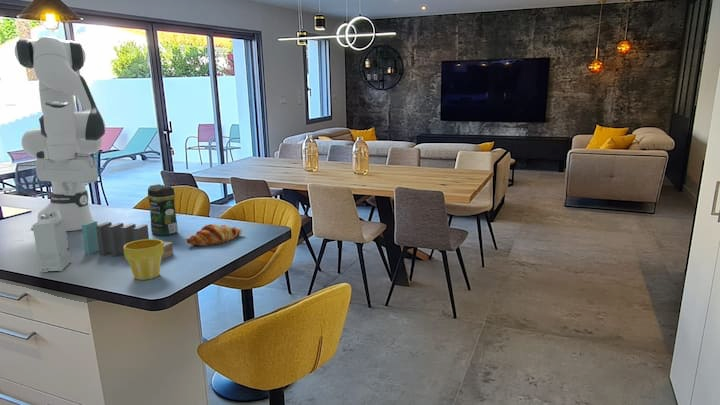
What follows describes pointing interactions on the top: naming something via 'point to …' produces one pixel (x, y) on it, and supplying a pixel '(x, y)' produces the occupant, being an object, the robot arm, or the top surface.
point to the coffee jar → (162, 210)
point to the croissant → (214, 235)
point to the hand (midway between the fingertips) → (69, 195)
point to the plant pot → (144, 257)
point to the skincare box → (51, 244)
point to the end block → (167, 250)
